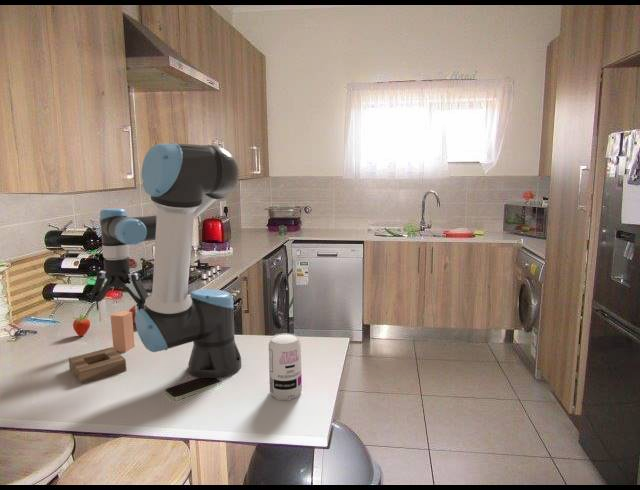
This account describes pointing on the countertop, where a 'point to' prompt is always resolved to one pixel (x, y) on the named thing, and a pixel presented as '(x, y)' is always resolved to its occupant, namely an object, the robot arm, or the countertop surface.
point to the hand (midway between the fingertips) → (121, 321)
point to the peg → (122, 331)
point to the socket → (97, 364)
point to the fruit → (81, 325)
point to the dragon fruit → (133, 314)
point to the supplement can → (285, 366)
